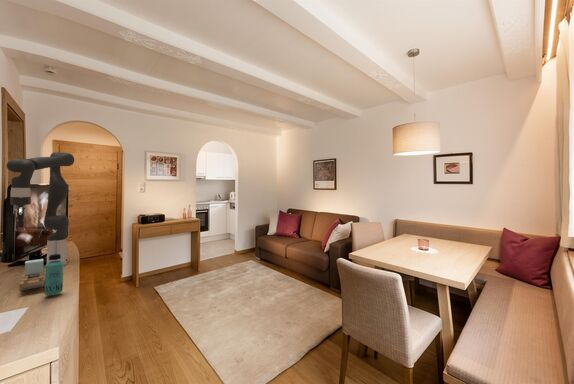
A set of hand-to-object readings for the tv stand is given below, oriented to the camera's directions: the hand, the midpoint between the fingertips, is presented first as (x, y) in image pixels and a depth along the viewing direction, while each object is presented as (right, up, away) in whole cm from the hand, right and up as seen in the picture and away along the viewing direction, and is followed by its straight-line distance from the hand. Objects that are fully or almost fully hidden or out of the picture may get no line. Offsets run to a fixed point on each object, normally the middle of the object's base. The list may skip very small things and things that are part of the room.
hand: (20, 227), depth 133 cm
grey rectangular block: (+16, -24, -8) cm, 30 cm away
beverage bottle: (+34, -31, -16) cm, 49 cm away
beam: (+15, -30, -7) cm, 34 cm away
